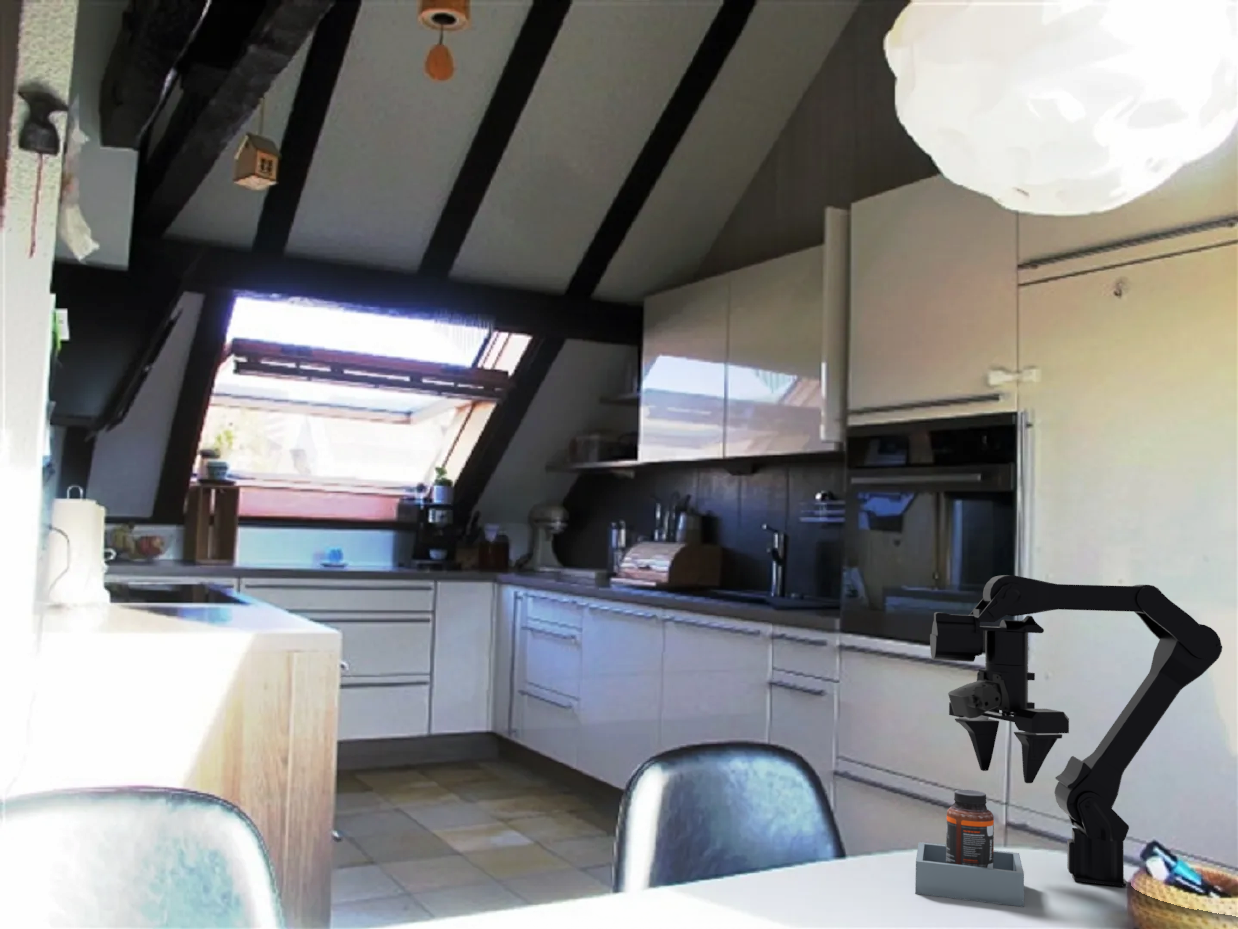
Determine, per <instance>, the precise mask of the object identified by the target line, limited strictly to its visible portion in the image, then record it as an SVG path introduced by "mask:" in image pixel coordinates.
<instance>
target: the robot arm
mask: <svg viewBox="0 0 1238 929" xmlns="http://www.w3.org/2000/svg"><path fill="white" fill-rule="evenodd" d="M1056 610H1065V611H1067V610H1070V611H1072V610H1073V611H1098V612H1099V611H1100V612H1101V611H1104V612H1105V611H1106V612H1133V613H1135V614H1136V615H1137V616H1138V617H1139V619H1141V621H1142V622H1143V624H1144V625H1145V626H1146V627H1147V629H1148V630H1149V631H1150V632H1151V633H1152V634H1153V635H1154V636H1155V637H1156V638H1157V639H1158V643H1157V645H1156V648H1155V649H1154V652H1153V657H1152V661H1151V666H1150V669H1149V671H1148V674H1147V675H1146V676H1145V678H1144V679H1143V681H1142V682H1141V683H1140V685H1139V686H1138V688H1137V689H1136V690H1135V693H1134V694H1133V695H1132V697H1130V700H1129V701H1128V702H1127V704H1126V705H1125V706H1124V708H1123V710H1122V711H1121V712H1120V713H1119V715H1118V717H1117V718H1116V719H1115V721H1114V722H1113V723H1112V725H1111V726H1110V728H1109V730H1108V731H1107V732H1106V733H1105V736H1103V738H1102V740H1101V741H1100V742H1099V744H1098V746H1097V747H1096V748H1095V750H1094V751H1093V752H1092V753H1091V754H1090V755H1088V756H1087V757H1086V758H1084V759H1082V760H1081V759H1079V758H1077V757H1075V756H1074V755H1072V756H1070V758H1069V759H1068V761H1067V764H1066V766H1065V768H1064V769H1063V771H1062V772H1061V773H1060V774H1058V775H1057V776H1055V777H1054V779H1055V780H1056V781H1058V782H1057V783H1056V786H1055V789H1054V797H1055V802H1056V804H1057V805H1058V807H1059V809H1061V810H1062V811H1063V812H1064V813H1066V814H1067V816H1068V819H1069V821H1070V824H1071V825H1072V826H1074V827H1071V838H1068V839H1067V840H1066V842H1067V847H1066V848H1067V849H1066V850H1067V852H1066V853H1067V854H1066V855H1067V856H1066V857H1067V859H1066V860H1067V865H1066V866H1067V870H1068V873H1069V874H1071V876H1072V879H1073V881H1075V882H1079V883H1081V882H1082V883H1087V884H1088V883H1089V884H1097V885H1106V886H1107V885H1108V886H1114V887H1125V888H1126V887H1127V882H1126V881H1125V877H1124V876H1125V874H1124V871H1125V870H1124V869H1125V867H1124V866H1125V865H1124V864H1125V863H1124V856H1125V855H1124V847H1125V846H1124V842H1125V840H1126V838H1127V834H1128V833H1129V830H1130V825H1129V824H1127V823H1126V821H1125V820H1124V819H1123V818H1122V817H1121V816H1120V815H1119V814H1118V813H1117V812H1116V811H1115V810H1114V809H1113V806H1114V805H1115V802H1116V799H1117V797H1118V796H1119V791H1120V786H1121V782H1122V777H1123V775H1124V772H1125V770H1126V769H1127V768H1128V766H1129V765H1130V764H1131V761H1132V760H1133V759H1134V758H1135V757H1136V754H1138V752H1139V750H1141V747H1142V746H1143V745H1144V743H1145V742H1146V740H1148V737H1149V736H1150V735H1151V733H1152V732H1153V730H1154V729H1155V728H1156V726H1157V725H1158V724H1159V722H1160V720H1161V719H1162V718H1163V717H1164V714H1165V713H1166V712H1167V710H1168V709H1169V708H1170V707H1171V705H1172V703H1173V702H1174V700H1175V699H1176V698H1177V696H1178V695H1179V693H1180V692H1181V691H1182V690H1183V689H1184V688H1185V687H1187V686H1188V685H1189V684H1191V683H1193V682H1194V681H1195V680H1197V679H1198V678H1200V677H1201V676H1203V674H1204V673H1205V672H1207V671H1208V670H1209V669H1210V667H1212V665H1214V663H1216V662H1217V661H1218V659H1219V658H1220V656H1221V655H1222V651H1223V645H1222V642H1221V641H1222V640H1221V638H1220V636H1219V635H1218V633H1217V632H1216V631H1215V630H1214V629H1213V628H1212V627H1211V626H1208V625H1206V624H1202V623H1201V624H1200V623H1198V621H1197V620H1195V619H1194V618H1193V617H1192V615H1190V614H1188V613H1187V612H1186V611H1185V610H1183V609H1182V608H1181V607H1179V606H1178V605H1177V604H1176V603H1174V602H1173V601H1172V600H1170V599H1169V598H1168V597H1167V596H1166V595H1165V594H1164V593H1163V592H1162V591H1161V590H1160V589H1159V587H1157V586H1155V585H1150V584H1135V585H1102V584H1101V585H1099V584H1098V585H1097V584H1064V583H1063V584H1062V583H1061V584H1060V583H1059V584H1057V583H1053V582H1048V581H1043V580H1040V579H1039V580H1038V579H1035V578H1029V577H1023V576H1020V575H1019V576H1018V575H1015V574H1014V575H1012V574H1011V575H1010V574H1009V575H1008V574H1006V575H1005V574H1003V575H1001V574H1000V575H997V576H993V577H991V578H990V579H989V580H988V581H987V582H986V584H985V585H984V588H983V592H982V599H981V600H980V601H979V602H978V603H977V605H975V607H974V608H973V609H972V611H971V612H970V613H969V614H950V613H945V612H937V611H936V612H934V613H933V622H932V627H931V633H930V634H929V643H930V644H929V646H930V647H929V648H930V656H931V659H932V661H948V662H967V663H968V662H969V663H974V662H975V660H976V657H980V656H982V655H983V652H984V631H985V654H984V656H985V661H984V662H985V663H984V664H985V668H984V669H983V668H981V669H978V671H977V674H976V680H975V681H973V682H970V683H966V684H964V685H962V686H959V687H957V688H955V689H952V690H951V691H949V692H948V693H947V695H948V698H949V702H948V705H949V707H948V715H949V716H952V717H954V721H955V722H956V723H959V725H961V726H962V727H963V728H964V729H965V731H966V732H967V733H968V735H969V737H970V741H971V743H972V744H971V745H972V747H973V751H974V753H975V756H976V759H977V762H978V767H979V769H980V771H983V772H987V771H989V768H990V766H991V762H992V759H993V753H994V749H995V744H996V740H997V735H998V734H997V733H998V731H999V726H1000V721H999V720H1002V721H1007V722H1010V723H1011V722H1012V723H1014V725H1015V726H1016V728H1017V730H1018V731H1014V732H1013V734H1014V736H1015V737H1016V738H1017V740H1018V742H1020V745H1021V756H1022V757H1021V758H1022V774H1023V780H1024V783H1025V784H1033V783H1034V781H1035V780H1036V777H1037V775H1038V773H1039V771H1040V769H1041V767H1042V766H1043V763H1044V762H1045V760H1046V758H1047V757H1048V754H1049V753H1050V751H1051V750H1052V749H1053V747H1054V745H1055V743H1056V742H1057V740H1058V739H1063V734H1070V718H1069V717H1068V715H1067V714H1066V713H1065V712H1064V711H1060V710H1055V709H1050V708H1036V707H1035V705H1036V703H1035V702H1032V701H1029V681H1035V680H1036V673H1035V672H1030V671H1029V633H1030V634H1043V633H1044V632H1045V629H1044V628H1043V627H1042V626H1041V625H1039V624H1038V622H1037V621H1036V620H1035V618H1034V617H1033V616H1032V615H1033V614H1038V613H1039V614H1040V613H1044V612H1049V611H1056ZM1031 614H1032V615H1031ZM1005 616H1008V617H1017V616H1025V617H1024V618H1023V619H1022V620H1019V619H1017V620H1014V619H1002V618H1004V617H1005ZM1000 619H1002V620H1001V621H1000V623H999V626H988V625H987V626H986V625H983V626H982V625H981V624H980V623H996V622H997V621H999V620H1000ZM1000 711H1001V712H1000ZM955 717H957V718H955Z"/></svg>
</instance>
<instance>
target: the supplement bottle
mask: <svg viewBox="0 0 1238 929" xmlns="http://www.w3.org/2000/svg"><path fill="white" fill-rule="evenodd" d="M953 794H954V796H953V797H954V798H953V801H954V803H953V804H952V805H951V806H950V807H949V808H948V809H947V811H946V839H945V842H946V844H945V845H946V863H949V864H958V865H967V866H975V867H984V868H993V869H994V866H993V864H994V850H995V848H994V847H995V846H994V840H995V839H994V838H995V836H994V835H995V832H994V830H995V827H994V826H995V824H994V823H995V820H994V819H995V816H994V814H993V812H992V811H991V810H989V809H988V808H987V794H986V793H985V792H983V791H980V790H973V789H956V790H954V793H953Z"/></svg>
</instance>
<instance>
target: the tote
mask: <svg viewBox="0 0 1238 929" xmlns="http://www.w3.org/2000/svg"><path fill="white" fill-rule="evenodd" d="M993 866H994V869H993V868H984V867H975V866H967V865H958V864H949V863H946V844H939V843H930V842H922V841H921V842H920V841H918V844H917V852H916V858H915V883H914V884H915V891H914V892H915V894H917V895H924V896H925V895H926V896H933V897H940V898H949V899H950V898H951V899H958V900H966V901H973V902H974V901H975V902H982V903H990V904H997V905H998V904H999V905H1005V906H1014V907H1023V908H1024V907H1025V905H1024V904H1025V902H1024V900H1025V872H1024V868H1023V867H1024V866H1023V864H1022V859H1021V854H1020V852H1013V851H1011V852H1010V851H1001V850H995V849H994V864H993Z"/></svg>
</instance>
